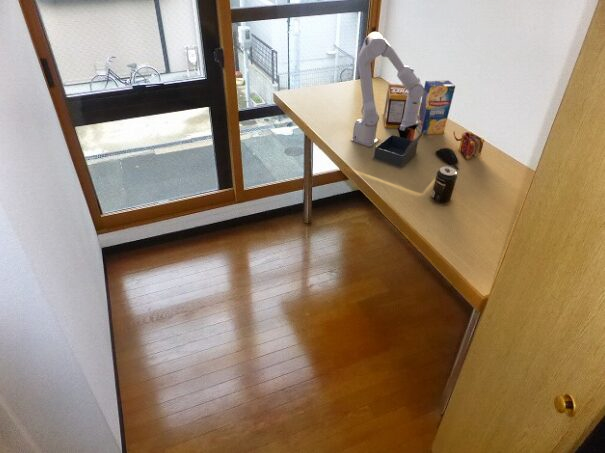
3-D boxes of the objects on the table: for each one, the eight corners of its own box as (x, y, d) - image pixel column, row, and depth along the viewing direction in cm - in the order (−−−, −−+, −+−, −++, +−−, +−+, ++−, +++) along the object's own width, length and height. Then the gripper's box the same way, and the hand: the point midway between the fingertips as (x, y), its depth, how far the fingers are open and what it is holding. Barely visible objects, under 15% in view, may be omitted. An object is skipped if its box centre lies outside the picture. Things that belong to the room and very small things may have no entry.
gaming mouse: (450, 170, 170) (453, 161, 167) (432, 152, 181) (434, 144, 179) (464, 168, 171) (467, 159, 169) (446, 151, 182) (448, 142, 180)
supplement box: (404, 115, 210) (410, 84, 201) (407, 129, 198) (413, 96, 189) (383, 114, 211) (388, 83, 201) (385, 127, 199) (390, 95, 189)
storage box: (389, 145, 185) (391, 134, 181) (415, 154, 179) (417, 142, 176) (373, 159, 175) (375, 147, 172) (400, 168, 170) (402, 156, 166)
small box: (398, 142, 188) (400, 129, 184) (402, 139, 190) (404, 126, 187) (408, 145, 185) (411, 132, 182) (412, 142, 188) (415, 129, 184)
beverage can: (446, 194, 156) (454, 165, 148) (452, 205, 150) (461, 176, 143) (428, 194, 155) (435, 165, 148) (433, 205, 150) (441, 176, 143)
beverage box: (443, 133, 196) (455, 86, 182) (420, 134, 194) (431, 86, 181) (437, 127, 201) (449, 80, 188) (415, 127, 200) (425, 81, 186)
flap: (425, 129, 171) (425, 130, 171) (417, 140, 176) (418, 141, 176) (410, 143, 162) (410, 143, 162) (402, 154, 166) (403, 155, 166)
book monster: (482, 157, 178) (455, 161, 176) (471, 148, 185) (445, 151, 183) (487, 134, 172) (460, 137, 170) (476, 125, 179) (449, 128, 177)
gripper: (413, 118, 172) (407, 148, 181) (427, 107, 182) (420, 136, 190) (397, 114, 175) (392, 143, 184) (411, 103, 185) (406, 132, 193)
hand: (405, 139), depth 187 cm, fingers open, 6 cm apart
